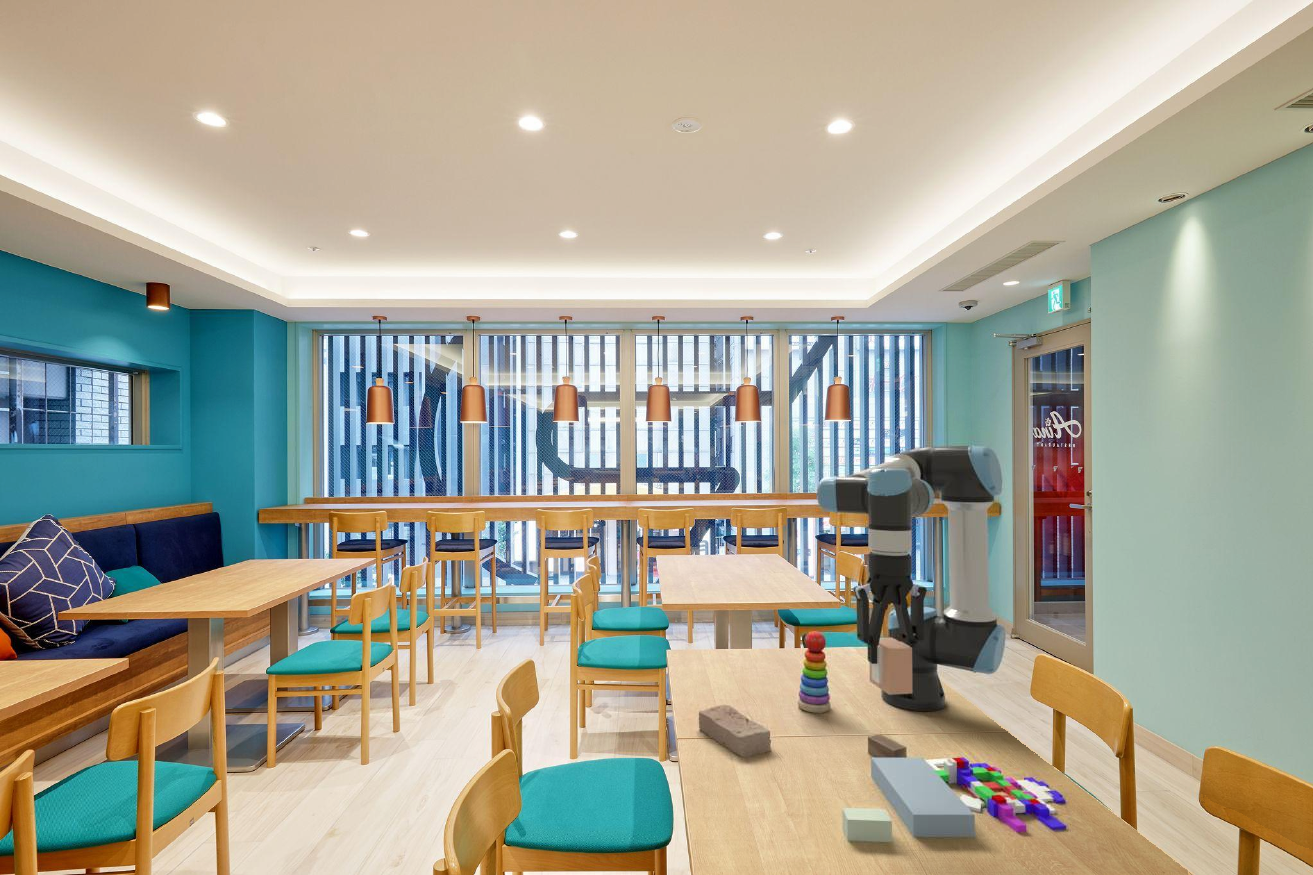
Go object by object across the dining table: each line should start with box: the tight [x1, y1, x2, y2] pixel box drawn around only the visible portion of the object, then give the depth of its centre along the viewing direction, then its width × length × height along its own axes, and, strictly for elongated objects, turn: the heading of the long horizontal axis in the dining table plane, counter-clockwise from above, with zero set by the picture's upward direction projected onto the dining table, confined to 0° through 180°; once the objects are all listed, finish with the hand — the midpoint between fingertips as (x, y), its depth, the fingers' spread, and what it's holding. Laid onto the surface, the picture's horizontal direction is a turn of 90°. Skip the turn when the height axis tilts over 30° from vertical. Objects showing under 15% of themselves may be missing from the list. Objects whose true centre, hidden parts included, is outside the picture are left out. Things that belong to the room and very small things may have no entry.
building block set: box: [924, 756, 1067, 834], centre depth 119 cm, size 25×20×4 cm
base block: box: [870, 757, 976, 838], centre depth 114 cm, size 10×20×4 cm, turn 1°
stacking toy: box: [797, 630, 832, 714], centre depth 159 cm, size 8×8×19 cm
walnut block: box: [867, 733, 908, 758], centre depth 132 cm, size 4×7×4 cm, turn 26°
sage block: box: [841, 807, 893, 843], centre depth 105 cm, size 4×7×4 cm, turn 86°
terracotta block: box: [869, 637, 912, 695], centre depth 118 cm, size 4×7×8 cm, turn 9°
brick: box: [698, 704, 772, 758], centre depth 141 cm, size 17×8×5 cm, turn 30°
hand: (890, 680), depth 118 cm, fingers closed on terracotta block, 4 cm apart
